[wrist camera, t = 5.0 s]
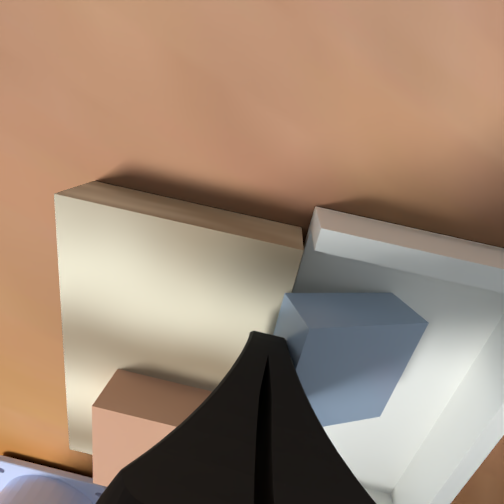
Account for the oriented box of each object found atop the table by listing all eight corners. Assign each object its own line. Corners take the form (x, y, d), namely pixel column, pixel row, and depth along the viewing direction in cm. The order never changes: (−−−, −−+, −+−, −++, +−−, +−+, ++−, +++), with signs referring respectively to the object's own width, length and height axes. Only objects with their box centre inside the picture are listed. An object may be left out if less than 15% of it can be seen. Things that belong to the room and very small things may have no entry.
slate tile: (353, 379, 15) (380, 416, 14) (257, 391, 13) (273, 435, 12) (392, 292, 13) (428, 322, 12) (284, 293, 11) (309, 328, 10)
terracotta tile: (210, 465, 16) (200, 510, 14) (115, 441, 16) (92, 483, 14) (226, 395, 14) (216, 436, 12) (117, 368, 14) (91, 405, 12)
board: (241, 444, 19) (234, 490, 17) (96, 409, 19) (69, 449, 17) (301, 227, 13) (303, 250, 11) (94, 180, 13) (54, 193, 11)
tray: (395, 494, 19) (411, 553, 16) (243, 456, 19) (235, 508, 17) (547, 258, 13) (613, 293, 10) (315, 206, 13) (320, 228, 10)
